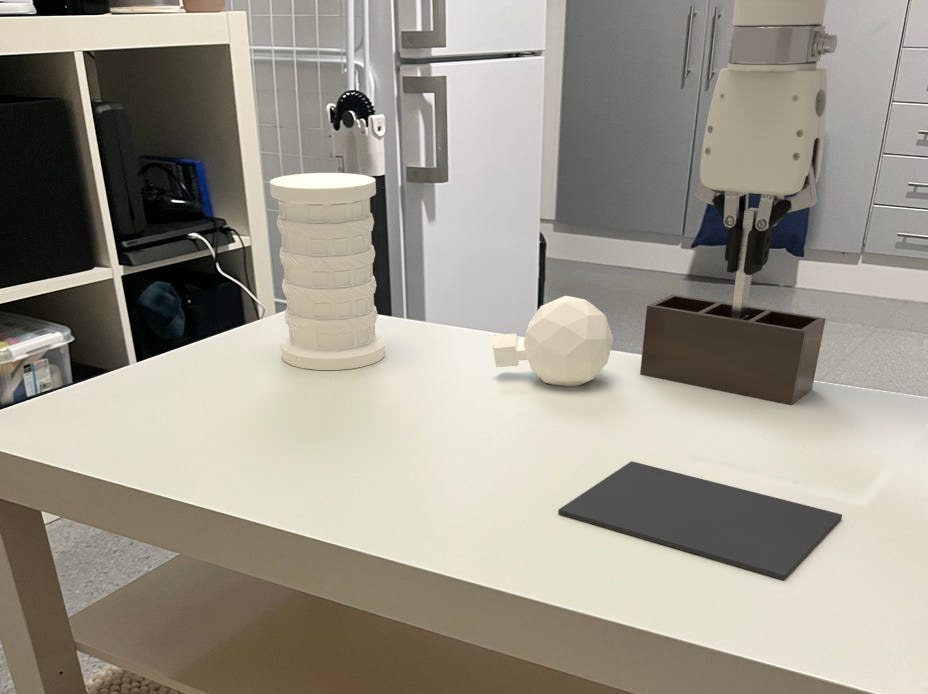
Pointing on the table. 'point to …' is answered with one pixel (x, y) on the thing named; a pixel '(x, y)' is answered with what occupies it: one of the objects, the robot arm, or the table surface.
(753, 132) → the robot arm
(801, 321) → the box
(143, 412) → the table surface
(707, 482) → the mat
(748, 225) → the stepped grey rod
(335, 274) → the decorative container
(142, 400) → the table surface
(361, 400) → the table surface
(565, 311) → the perfume bottle
